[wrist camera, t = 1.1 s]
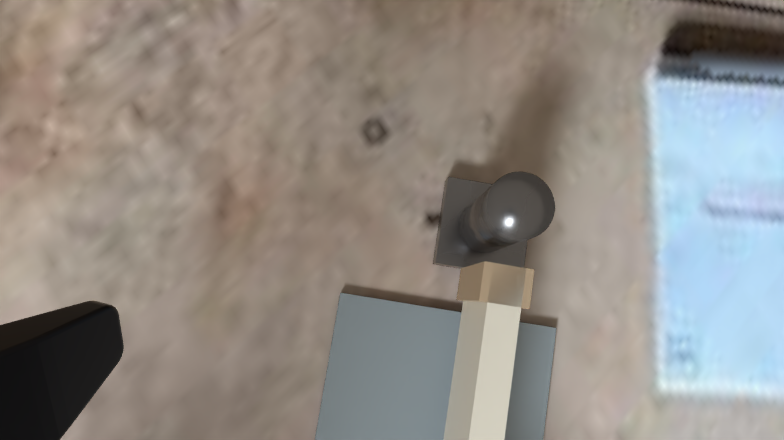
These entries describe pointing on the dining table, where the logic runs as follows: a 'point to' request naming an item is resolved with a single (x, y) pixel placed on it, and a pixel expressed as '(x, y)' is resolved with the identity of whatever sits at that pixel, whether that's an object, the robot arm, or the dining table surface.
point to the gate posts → (491, 220)
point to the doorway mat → (417, 373)
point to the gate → (486, 349)
